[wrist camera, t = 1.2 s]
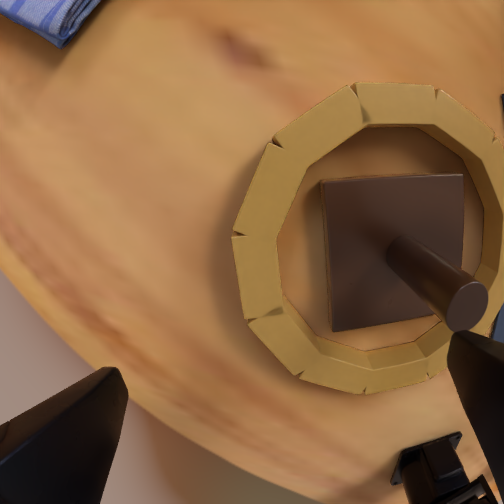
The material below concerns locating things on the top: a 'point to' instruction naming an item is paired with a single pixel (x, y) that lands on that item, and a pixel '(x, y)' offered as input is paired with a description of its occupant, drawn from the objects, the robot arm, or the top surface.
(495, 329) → the felt mat
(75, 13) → the dish towel
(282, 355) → the hoop
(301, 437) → the top surface
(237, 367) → the top surface
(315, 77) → the top surface
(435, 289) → the peg stand
